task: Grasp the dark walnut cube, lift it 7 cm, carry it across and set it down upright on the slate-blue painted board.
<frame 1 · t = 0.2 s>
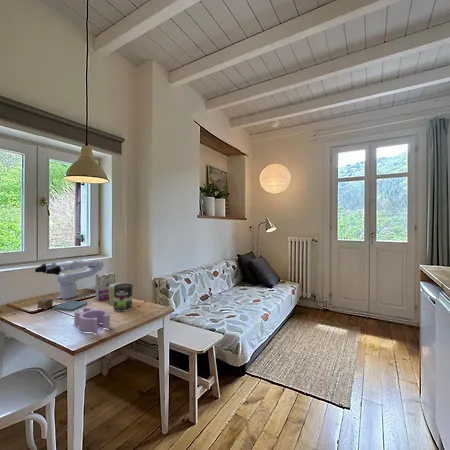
hand: (41, 271, 149), 21 cm above the table, tool horizontal, fingers open, 7 cm apart
coffee can: (122, 309, 151), on the table
walnut cube: (45, 308, 148), on the table
clip: (90, 327, 126), on the table
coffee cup: (116, 304, 160), on the table
candy bar box: (105, 298, 169), on the table
slate board: (71, 306, 152), on the table
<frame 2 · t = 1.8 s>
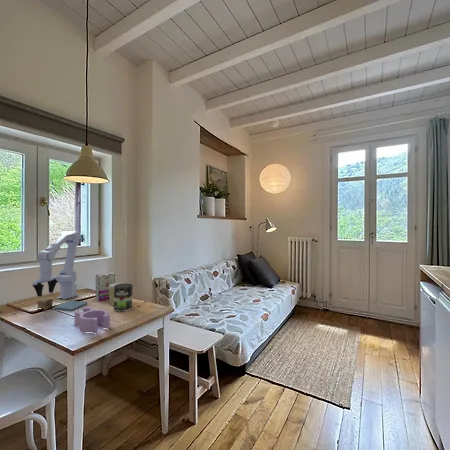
hand: (45, 294, 148), 8 cm above the table, tool pointing down, fingers open, 7 cm apart
nothing on the table moved.
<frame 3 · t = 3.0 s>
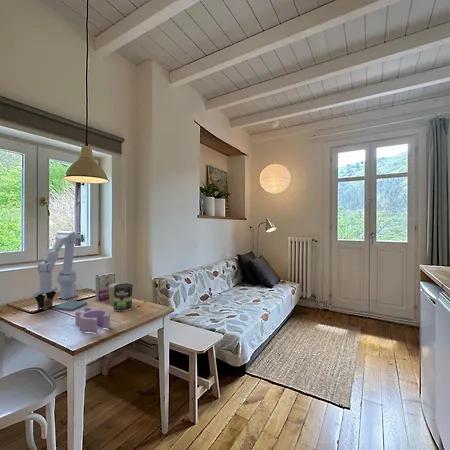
hand: (45, 305, 148), 1 cm above the table, tool pointing down, fingers closed on walnut cube, 5 cm apart
walnut cube: (45, 308, 148), on the table, touching gripper
everything else where it was.
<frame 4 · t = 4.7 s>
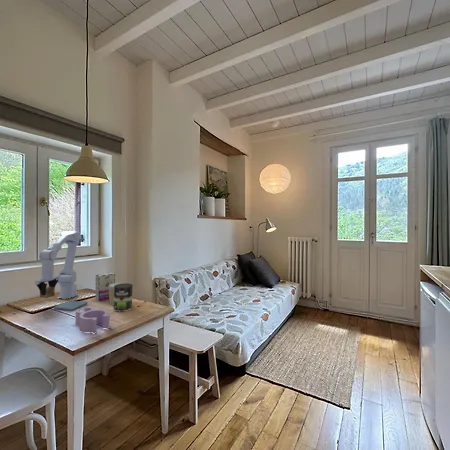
hand: (47, 293, 148), 8 cm above the table, tool pointing down, fingers closed on walnut cube, 5 cm apart
walnut cube: (47, 296, 149), point 7 cm above the table, touching gripper
everything else where it was.
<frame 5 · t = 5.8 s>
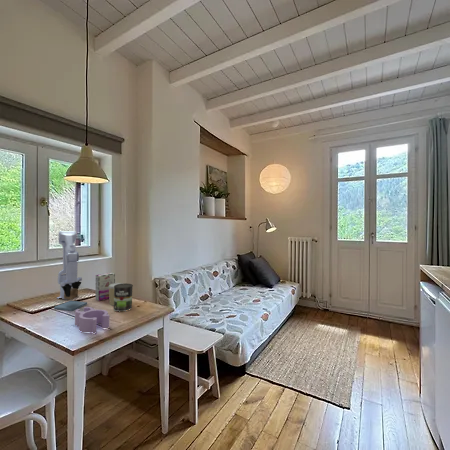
hand: (71, 295, 152), 7 cm above the table, tool pointing down, fingers closed on walnut cube, 5 cm apart
walnut cube: (71, 297, 152), point 5 cm above the table, touching gripper
everything else where it was.
when the fingers open (4 cm above the table, at t = 6.8 s): walnut cube drops 1 cm, resting on slate board.
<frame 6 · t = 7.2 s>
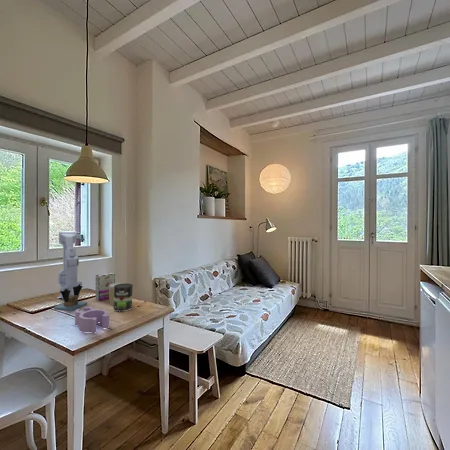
hand: (71, 299, 152), 4 cm above the table, tool pointing down, fingers open, 7 cm apart
walnut cube: (70, 304, 152), point 1 cm above the table, touching slate board
everything else where it was.
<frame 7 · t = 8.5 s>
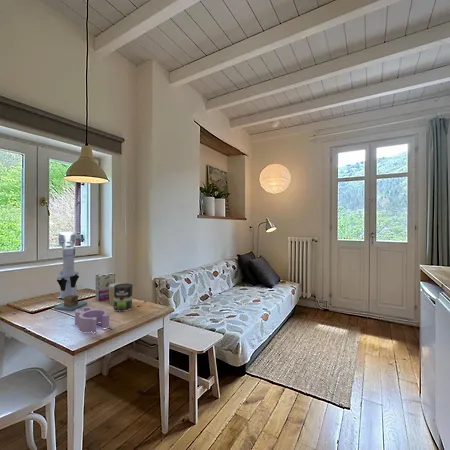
hand: (68, 289, 156), 9 cm above the table, tool pointing down, fingers open, 7 cm apart
nothing on the table moved.
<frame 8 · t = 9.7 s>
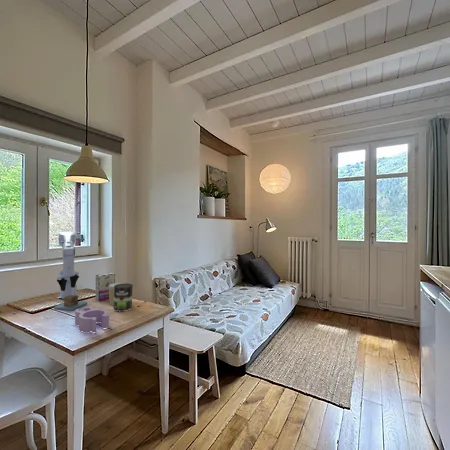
hand: (68, 289, 156), 9 cm above the table, tool pointing down, fingers open, 7 cm apart
nothing on the table moved.
at the end: walnut cube inside the target area on the slate board (0.2 cm from its centre), point 1.2 cm above the slate board's base; walnut cube tilted 0°; the gripper is holding nothing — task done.
